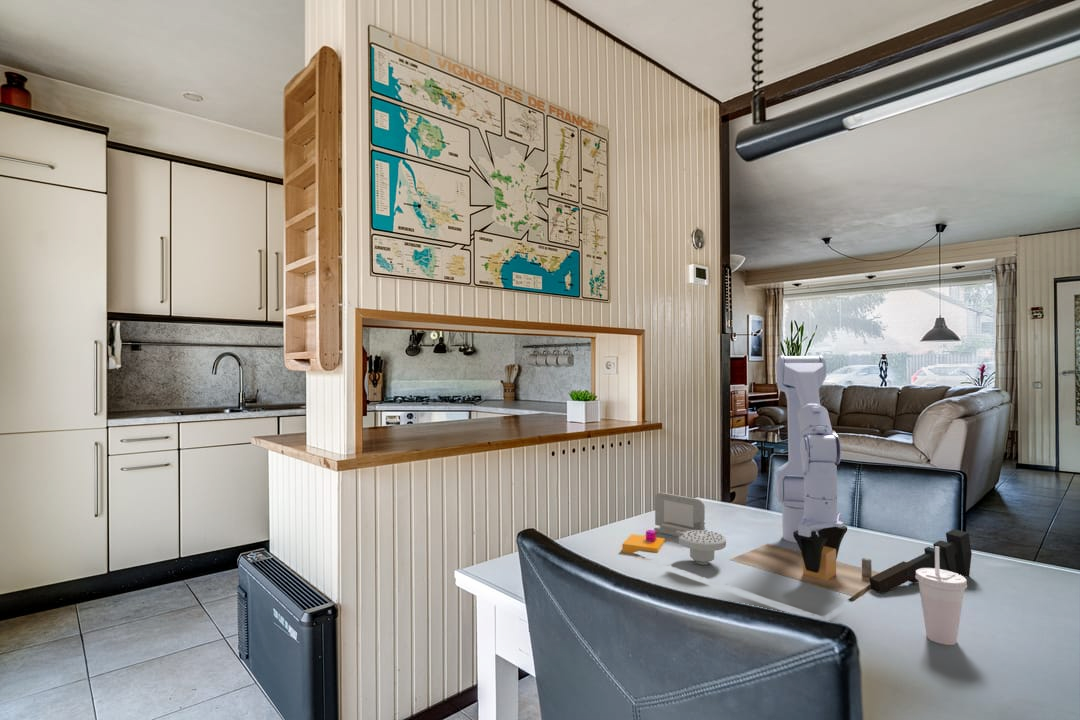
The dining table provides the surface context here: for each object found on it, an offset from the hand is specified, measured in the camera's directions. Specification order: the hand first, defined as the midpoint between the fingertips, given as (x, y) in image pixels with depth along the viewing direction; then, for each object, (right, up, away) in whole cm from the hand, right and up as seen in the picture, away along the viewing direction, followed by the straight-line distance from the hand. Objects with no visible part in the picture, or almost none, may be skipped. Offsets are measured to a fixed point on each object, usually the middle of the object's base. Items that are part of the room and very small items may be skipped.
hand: (820, 566), depth 107 cm
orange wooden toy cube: (0, -2, 0) cm, 2 cm away
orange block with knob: (-31, -4, +18) cm, 36 cm away
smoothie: (+6, -3, -23) cm, 24 cm away
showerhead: (-21, -3, +7) cm, 23 cm away
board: (-1, -3, +4) cm, 5 cm away
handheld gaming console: (-18, -3, +30) cm, 35 cm away
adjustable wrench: (+19, -3, -1) cm, 19 cm away
